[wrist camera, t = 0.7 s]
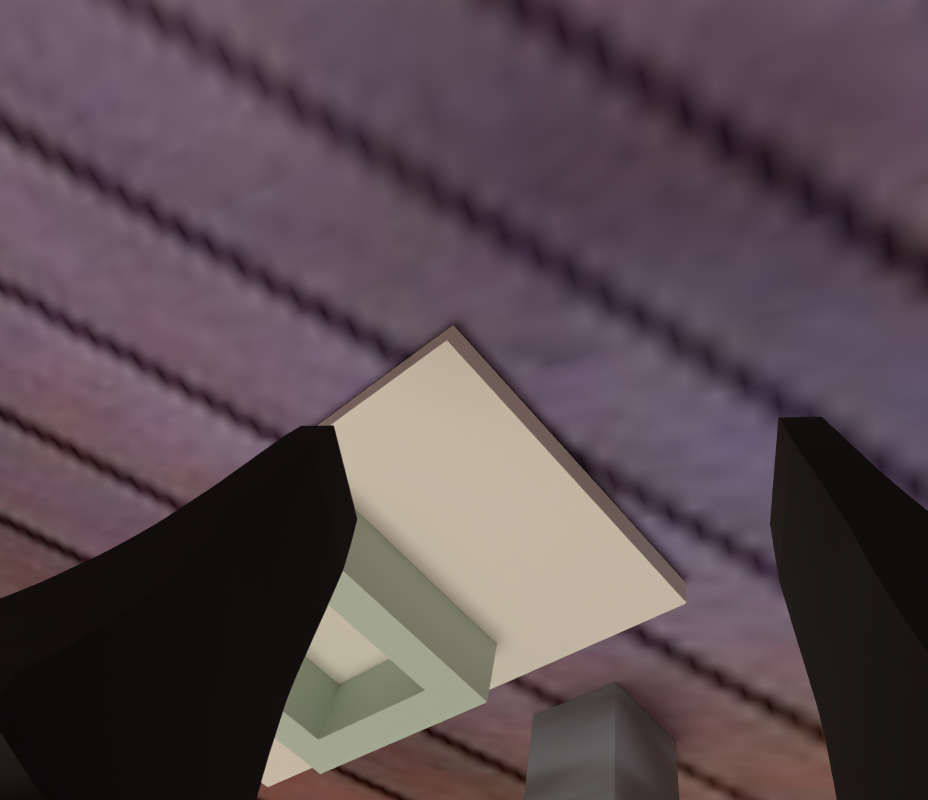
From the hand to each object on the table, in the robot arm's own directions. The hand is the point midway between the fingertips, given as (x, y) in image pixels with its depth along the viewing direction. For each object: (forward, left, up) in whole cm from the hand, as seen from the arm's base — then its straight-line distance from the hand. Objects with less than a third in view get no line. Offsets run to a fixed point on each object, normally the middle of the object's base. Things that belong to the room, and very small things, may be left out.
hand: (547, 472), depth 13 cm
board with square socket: (-6, +15, -10) cm, 19 cm away
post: (-17, +11, -10) cm, 22 cm away
